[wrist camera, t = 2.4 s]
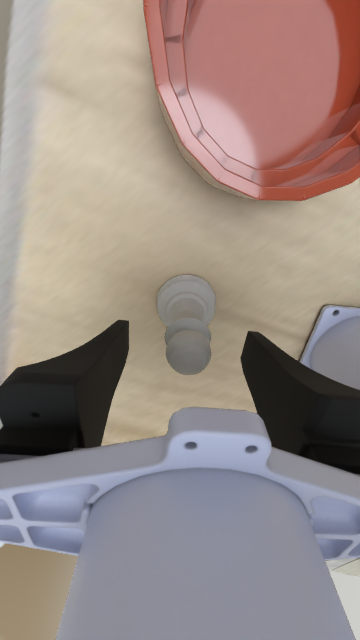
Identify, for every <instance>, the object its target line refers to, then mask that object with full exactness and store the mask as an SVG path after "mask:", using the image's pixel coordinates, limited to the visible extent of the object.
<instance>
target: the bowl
mask: <svg viewBox="0 0 360 640" xmlns="http://www.w3.org/2000/svg"><path fill="white" fill-rule="evenodd" d="M143 6H144V7H143V9H144V16H145V22H146V29H147V35H148V41H149V48H150V54H151V60H152V67H153V73H154V79H155V85H156V90H157V94H158V98H159V102H160V106H161V110H162V114H163V117H164V119H165V121H166V124H167V126H168V128H169V130H170V132H171V134H172V137H173V139H174V141H175V143H176V145H177V147H178V150H179V152H180V154H181V155H182V157H183V158H184V159H185V160H186V161H187V162H188V163H189V164H190V165H191V167H192V168H193V169H194V170H195V171H196V172H197V173H198V174H199V175H200V176H201V177H202V178H203V179H204V180H205V181H206V182H207V183H209V184H210V185H212V186H215V187H217V188H219V189H221V190H224V191H226V192H228V193H230V194H233V195H235V196H237V197H241V198H248V199H254V200H276V201H302V200H307V199H309V198H312V197H315V196H318V195H321V194H323V193H326V192H329V191H332V190H335V189H337V188H340V187H343V186H346V185H348V184H350V183H352V182H354V181H355V180H356V179H358V178H359V177H360V0H143Z"/></svg>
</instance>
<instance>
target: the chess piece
mask: <svg viewBox="0 0 360 640" xmlns="http://www.w3.org/2000/svg"><path fill="white" fill-rule="evenodd" d="M215 306H216V298H215V293H214V291H213V289H212V287H211V286H210V285H209V284H208V283H207V282H206V281H205V280H203V279H201V278H200V277H197V276H193V275H180V276H176V277H174V278H172V279H170V280H168V281H167V282H166V283H165V284H164V285H163V286H162V287H161V289H160V291H159V293H158V296H157V308H158V313H159V316H160V318H161V320H162V322H163V323H164V324H165V325H166V326H167V327H168V328H167V330H166V333H165V342H166V345H167V349H166V358H167V360H168V363H169V364H170V366H171V367H172V368H173V369H174V370H175V371H177V372H178V373H180V374H184V375H193V374H197V373H199V372H201V371H202V370H203V369H204V368H205V367H206V366H207V365H208V363H209V361H210V358H211V348H210V344H209V343H210V340H211V334H210V330H209V328H208V327H207V325H208V324H209V322H210V321H211V320H212V318H213V316H214V313H215Z"/></svg>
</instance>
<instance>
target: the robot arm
mask: <svg viewBox="0 0 360 640" xmlns="http://www.w3.org/2000/svg"><path fill="white" fill-rule="evenodd" d="M335 310H337V311H336V312H335V313H333V312H334V311H335ZM128 350H129V321H125V320H118V321H116V322H115V323H114V324H112V325H111V326H110V327H109V328H107V329H106V330H105V331H103V332H102V333H101V334H99V335H98V336H96V337H95V338H93V339H92V340H90V341H89V342H87V343H86V344H84V345H82V346H80V347H78V348H76V349H74V350H72V351H70V352H67V353H65V354H63V355H60V356H58V357H55V358H52V359H49V360H46V361H43V362H39V363H35V364H31V365H27V366H23V367H18V368H16V369H15V370H14V372H13V373H12V374H11V375H10V376H9V377H8V378H7V379H6V380H5V381H4V383H3V384H2V385H1V386H0V419H1V422H2V425H3V426H2V428H1V429H0V542H3V543H8V544H14V545H20V546H26V547H31V548H37V549H43V550H49V551H54V552H60V553H66V554H71V555H77V556H78V559H77V563H76V567H75V570H74V574H73V577H72V581H71V585H70V589H69V592H68V596H67V599H66V603H65V606H64V610H63V614H62V618H61V621H60V625H59V628H58V632H57V636H56V639H55V640H356V639H355V637H354V634H353V631H352V629H351V626H350V624H349V621H348V619H347V616H346V614H345V611H344V608H343V606H342V603H341V601H340V598H339V596H338V593H337V590H336V588H335V585H334V583H333V580H332V578H331V575H330V572H329V570H328V567H327V565H326V562H325V561H328V560H339V559H349V558H360V308H358V307H347V306H337V305H327V306H325V307H323V309H322V310H321V313H320V315H319V317H318V320H317V322H316V324H315V327H314V329H313V331H312V334H311V336H310V338H309V341H308V343H307V345H306V348H305V350H304V352H303V355H302V357H301V359H300V362H298V361H297V360H295V359H294V358H292V357H291V356H290V355H288V354H287V353H285V352H284V351H283V350H281V349H280V348H279V347H277V346H276V345H275V344H273V343H272V342H271V341H270V340H268V339H267V338H266V337H265V336H263V335H262V334H260V333H259V332H253V331H248V333H247V337H246V341H245V344H244V348H243V351H242V355H241V363H242V368H243V373H244V376H245V378H246V381H247V384H248V387H249V390H250V392H251V395H252V398H253V401H254V403H255V407H256V410H257V413H253V412H249V411H246V410H234V409H219V408H205V407H188V408H182V409H180V410H179V411H177V412H175V413H173V415H172V416H171V418H170V420H169V425H168V431H167V434H166V435H165V436H159V437H153V438H147V439H141V440H135V441H129V442H123V443H117V444H111V445H105V446H101V443H102V439H103V434H104V430H105V426H106V422H107V418H108V413H109V410H110V406H111V402H112V398H113V395H114V392H115V390H116V387H117V384H118V382H119V379H120V377H121V374H122V371H123V369H124V366H125V363H126V359H127V355H128Z"/></svg>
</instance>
